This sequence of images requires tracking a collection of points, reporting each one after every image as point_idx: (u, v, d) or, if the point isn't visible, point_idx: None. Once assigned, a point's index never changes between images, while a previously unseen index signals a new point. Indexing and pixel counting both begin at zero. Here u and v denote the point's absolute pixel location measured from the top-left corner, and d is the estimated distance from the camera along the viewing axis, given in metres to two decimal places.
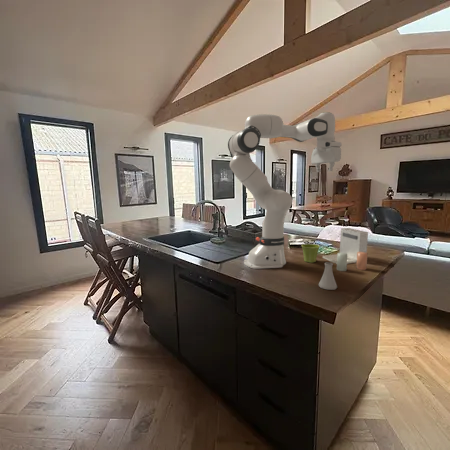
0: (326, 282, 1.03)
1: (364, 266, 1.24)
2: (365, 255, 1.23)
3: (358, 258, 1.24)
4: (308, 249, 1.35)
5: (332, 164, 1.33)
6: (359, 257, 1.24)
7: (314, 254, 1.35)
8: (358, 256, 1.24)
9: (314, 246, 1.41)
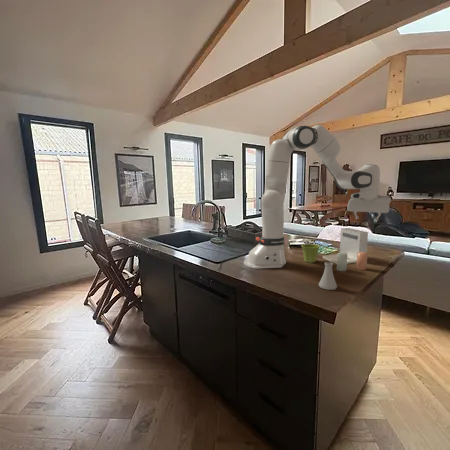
0: (326, 282, 1.03)
1: (364, 266, 1.24)
2: (365, 255, 1.23)
3: (358, 258, 1.24)
4: (308, 249, 1.35)
5: (354, 213, 1.44)
6: (359, 257, 1.24)
7: (314, 254, 1.35)
8: (358, 256, 1.24)
9: (314, 246, 1.41)
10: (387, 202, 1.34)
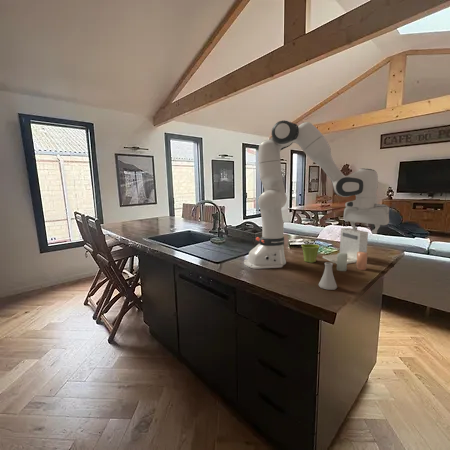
0: (326, 282, 1.03)
1: (364, 266, 1.24)
2: (365, 255, 1.23)
3: (358, 258, 1.24)
4: (308, 249, 1.35)
5: None
6: (359, 257, 1.24)
7: (314, 254, 1.35)
8: (358, 256, 1.24)
9: (314, 246, 1.41)
10: (383, 212, 1.13)
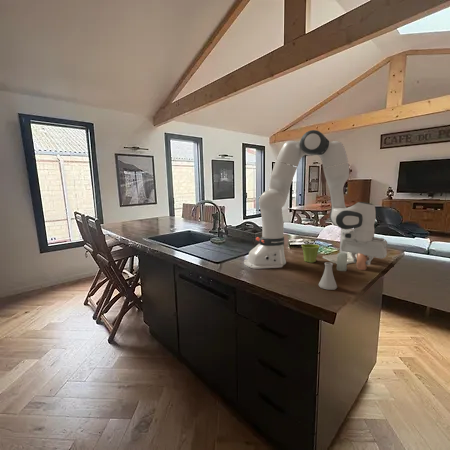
0: (326, 282, 1.03)
1: (364, 266, 1.24)
2: None
3: (358, 258, 1.24)
4: (308, 249, 1.35)
5: None
6: (359, 257, 1.24)
7: (314, 254, 1.35)
8: (358, 256, 1.24)
9: (314, 246, 1.41)
10: (381, 246, 1.16)
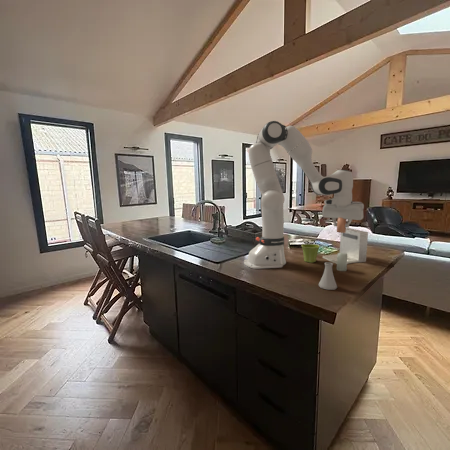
0: (326, 282, 1.03)
1: (344, 229, 1.35)
2: None
3: (338, 222, 1.36)
4: (308, 249, 1.35)
5: None
6: (339, 220, 1.35)
7: (314, 254, 1.35)
8: (338, 220, 1.36)
9: (314, 246, 1.41)
10: (359, 209, 1.28)
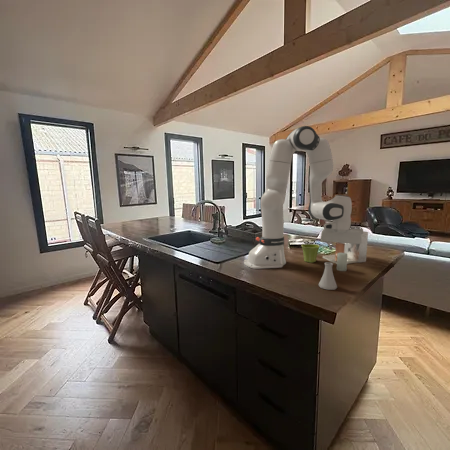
0: (326, 282, 1.03)
1: None
2: (344, 245, 1.37)
3: (338, 248, 1.38)
4: (308, 249, 1.35)
5: (327, 243, 1.42)
6: (339, 247, 1.37)
7: (314, 254, 1.35)
8: (338, 247, 1.38)
9: (314, 246, 1.41)
10: (359, 233, 1.32)
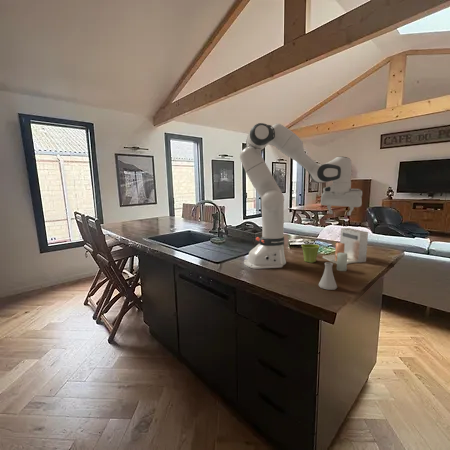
0: (326, 282, 1.03)
1: None
2: (343, 245, 1.37)
3: (338, 248, 1.38)
4: (308, 249, 1.35)
5: None
6: (339, 247, 1.37)
7: (314, 254, 1.35)
8: (337, 247, 1.38)
9: (314, 246, 1.41)
10: (357, 195, 1.28)
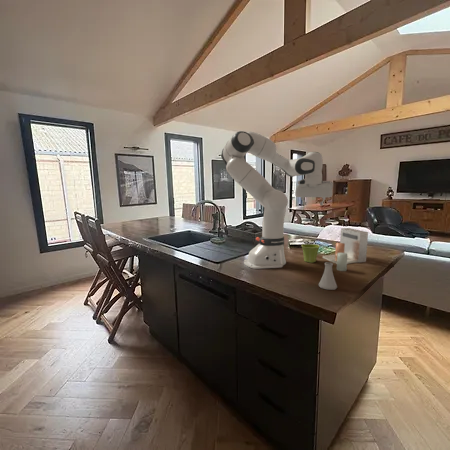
0: (326, 282, 1.03)
1: None
2: (343, 245, 1.37)
3: (338, 248, 1.38)
4: (308, 249, 1.35)
5: None
6: (339, 247, 1.37)
7: (314, 254, 1.35)
8: (337, 246, 1.38)
9: (314, 246, 1.41)
10: (329, 187, 1.43)
